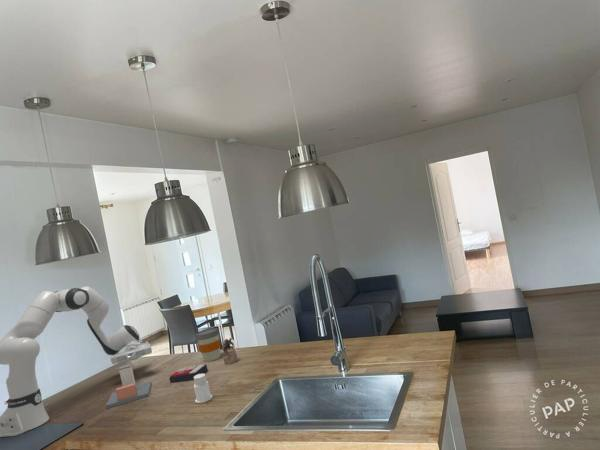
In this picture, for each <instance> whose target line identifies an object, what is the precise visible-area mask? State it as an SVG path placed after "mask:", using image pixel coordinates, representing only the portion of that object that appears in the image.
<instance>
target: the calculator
mask: <svg viewBox="0 0 600 450" xmlns="http://www.w3.org/2000/svg"><path fill="white" fill-rule="evenodd" d="M208 372H209V370H208V367H207V364H205V363H204V364H199V365H197V364H196V365H192V366H187V367H180V368H179V369H178V370H176V371H175V372H174V373H172V374H171V375H170V376H169V379H168V380H169V382H170V384H173V383H181V382H187V381H194V376H196V375H198V374H205V375H206V373H208Z"/></svg>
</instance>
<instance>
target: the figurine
mask: <svg viewBox="0 0 600 450" xmlns="http://www.w3.org/2000/svg"><path fill="white" fill-rule="evenodd" d="M232 340H233V338H231V337H230V338H229V339H228V338H226V339H224V340H223V342H222V345H221V349H222V351H223V362H224V365H225V366H226V365H228V366H229V365H232V364H235V363H236V362H238V361H239V357H238V354H237V352H236V349H235V348H234V345H235V344H234V343H233V342H232Z"/></svg>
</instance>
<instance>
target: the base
mask: <svg viewBox="0 0 600 450" xmlns="http://www.w3.org/2000/svg"><path fill="white" fill-rule="evenodd" d="M135 384H136V382H135V383H133V384H130V385H126V386H120V387H116V389H115V391H112V392H111V394H110V396H109V398H108V401H107V402H106V404H105V409H106V410H107V409H111V408H114V407H118V406H120V404H121V405H124V403H125V404H127V402H128V403H130V402H131V403H132V402H134V401H138V400H142V399H144V398H147V397H148V398H149V396H150V393H151V389H152V385H153V384H152V380H151V381H147V382H143V383H140V384H136V385H135ZM117 405H118V406H117Z"/></svg>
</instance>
